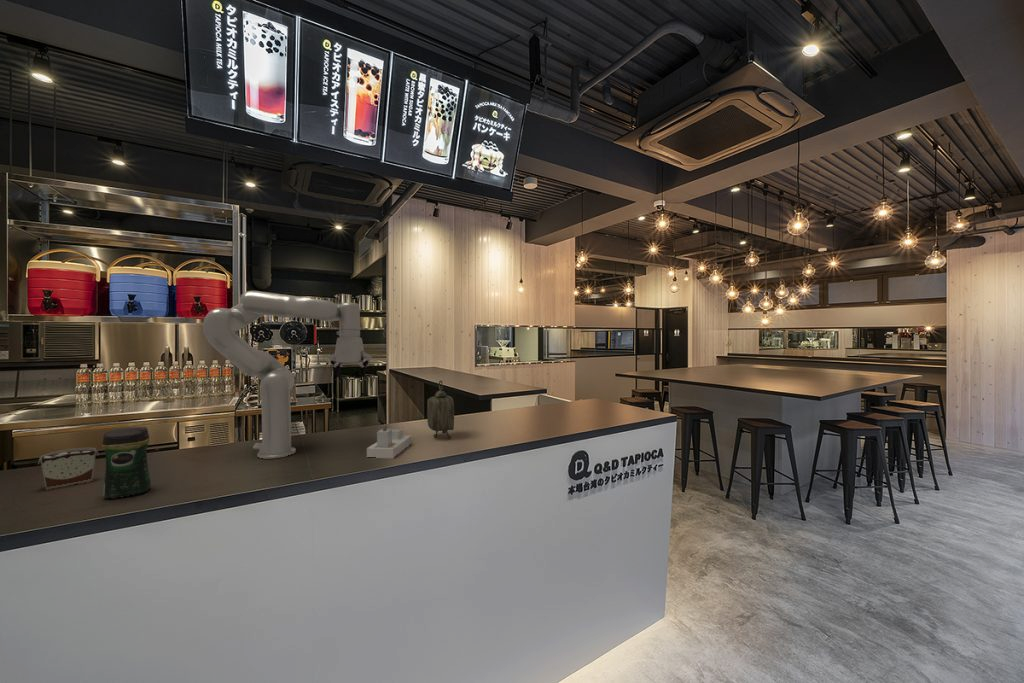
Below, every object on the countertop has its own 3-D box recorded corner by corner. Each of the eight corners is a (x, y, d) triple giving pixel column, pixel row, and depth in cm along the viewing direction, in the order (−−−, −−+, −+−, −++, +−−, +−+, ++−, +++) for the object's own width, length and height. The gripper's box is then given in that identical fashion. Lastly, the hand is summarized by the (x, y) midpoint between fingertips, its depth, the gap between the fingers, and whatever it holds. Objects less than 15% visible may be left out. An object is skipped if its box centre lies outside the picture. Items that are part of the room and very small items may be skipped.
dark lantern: (454, 440, 175) (454, 381, 174) (433, 442, 171) (432, 382, 171) (446, 432, 188) (446, 378, 188) (427, 434, 185) (426, 379, 185)
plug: (377, 453, 151) (377, 426, 151) (381, 450, 156) (381, 423, 156) (387, 453, 151) (387, 426, 151) (392, 450, 156) (392, 424, 156)
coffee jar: (153, 486, 122) (152, 423, 121) (146, 495, 115) (145, 429, 115) (109, 492, 117) (108, 427, 117) (98, 502, 110) (97, 433, 110)
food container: (96, 476, 131) (96, 445, 131) (98, 480, 127) (98, 448, 127) (37, 487, 121) (36, 453, 121) (38, 492, 117) (37, 457, 117)
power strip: (366, 457, 149) (366, 440, 149) (387, 443, 169) (387, 428, 169) (393, 458, 149) (393, 440, 148) (411, 444, 168) (411, 428, 168)
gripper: (323, 334, 159) (324, 378, 159) (366, 333, 157) (367, 378, 158) (333, 334, 166) (334, 376, 166) (374, 334, 165) (375, 376, 165)
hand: (350, 377), depth 162 cm, fingers open, 9 cm apart
